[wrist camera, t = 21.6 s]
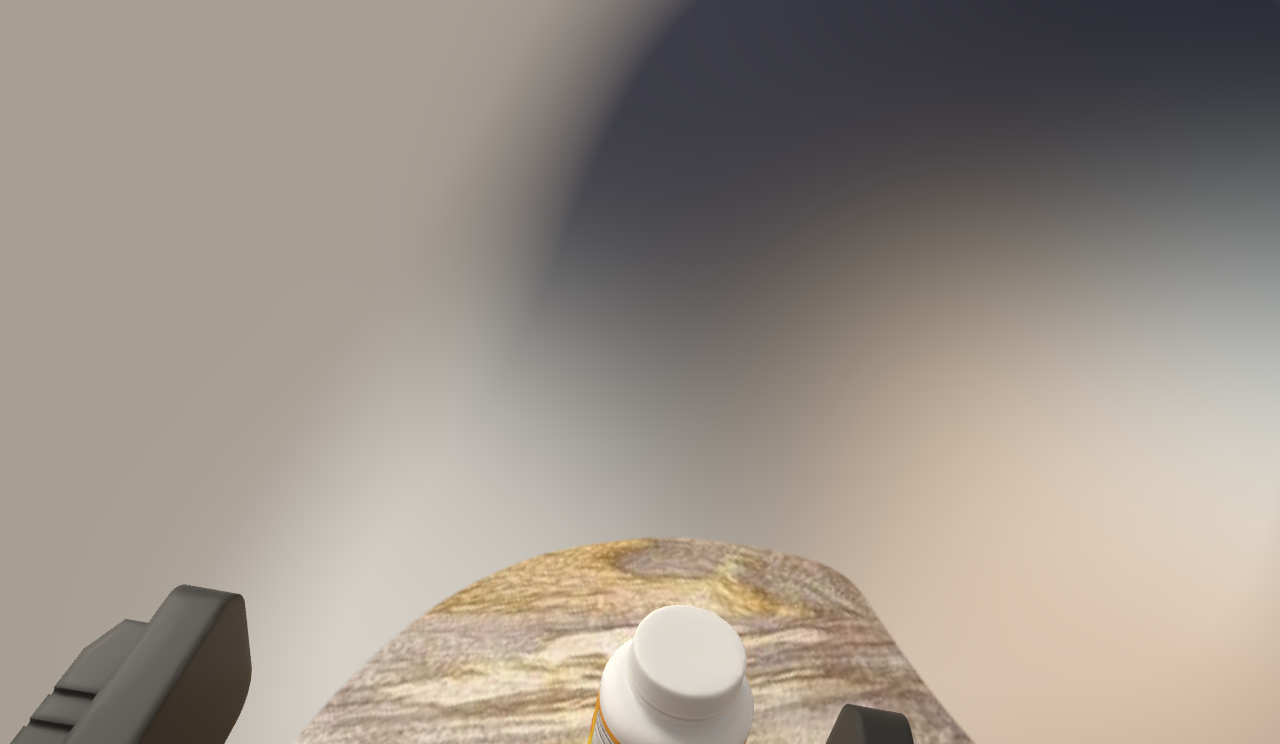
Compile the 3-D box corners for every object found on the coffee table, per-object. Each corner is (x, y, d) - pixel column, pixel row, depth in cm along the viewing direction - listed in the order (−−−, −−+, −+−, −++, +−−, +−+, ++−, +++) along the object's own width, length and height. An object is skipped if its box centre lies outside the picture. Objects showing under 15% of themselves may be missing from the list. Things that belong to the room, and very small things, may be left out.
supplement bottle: (662, 735, 38) (711, 569, 33) (736, 849, 34) (805, 683, 29) (548, 785, 35) (582, 612, 30) (615, 916, 32) (666, 745, 26)
